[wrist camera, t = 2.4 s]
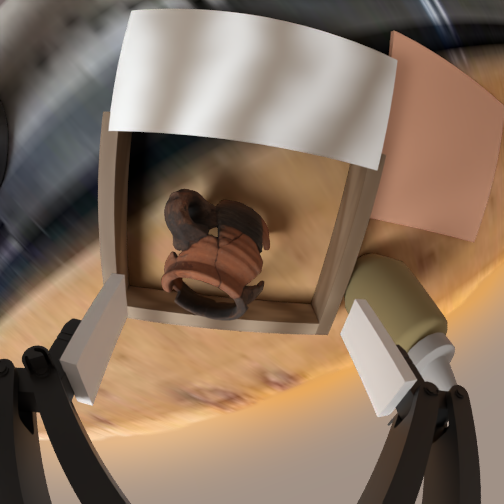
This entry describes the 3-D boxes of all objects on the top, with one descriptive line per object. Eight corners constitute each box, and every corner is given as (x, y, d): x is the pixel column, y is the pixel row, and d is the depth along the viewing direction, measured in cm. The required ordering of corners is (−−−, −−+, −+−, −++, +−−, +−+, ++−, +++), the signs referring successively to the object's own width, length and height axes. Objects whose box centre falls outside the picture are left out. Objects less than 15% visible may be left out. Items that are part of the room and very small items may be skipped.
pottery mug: (291, 251, 28) (276, 325, 23) (215, 263, 33) (191, 326, 27) (230, 148, 21) (188, 219, 15) (149, 184, 25) (104, 247, 20)
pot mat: (356, 213, 27) (358, 215, 26) (391, 31, 18) (394, 30, 18) (471, 240, 30) (474, 242, 29) (502, 106, 21) (505, 106, 21)
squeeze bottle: (384, 303, 32) (459, 414, 16) (326, 306, 31) (389, 442, 15) (403, 244, 29) (509, 348, 13) (342, 241, 28) (445, 373, 12)
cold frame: (117, 295, 28) (105, 319, 24) (135, 26, 17) (119, 11, 13) (319, 315, 32) (329, 339, 28) (382, 70, 20) (407, 64, 16)
